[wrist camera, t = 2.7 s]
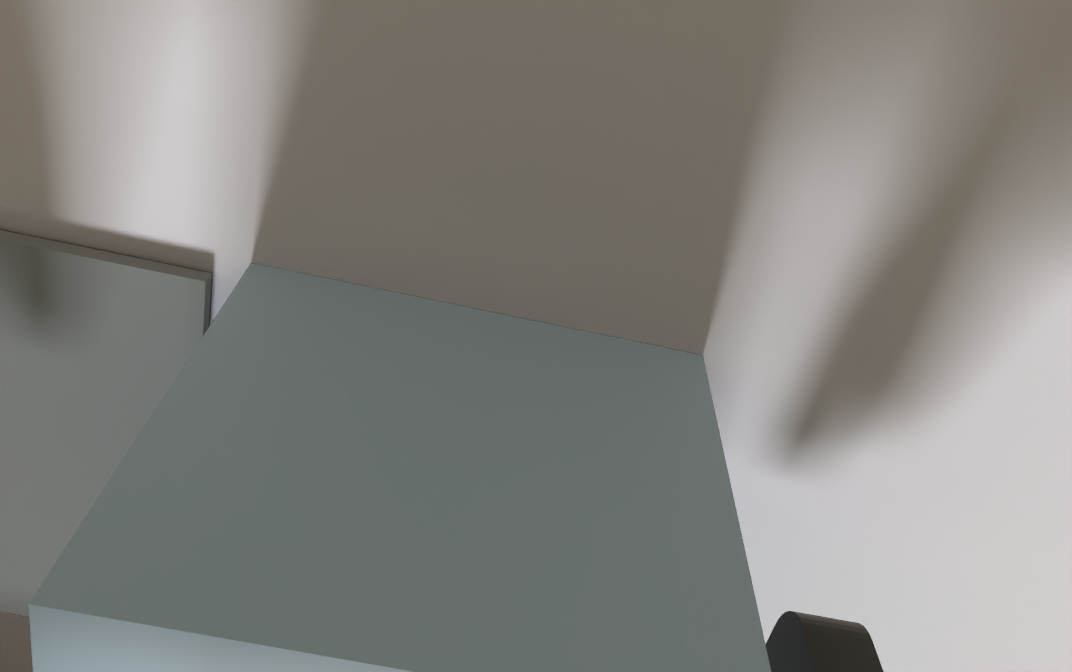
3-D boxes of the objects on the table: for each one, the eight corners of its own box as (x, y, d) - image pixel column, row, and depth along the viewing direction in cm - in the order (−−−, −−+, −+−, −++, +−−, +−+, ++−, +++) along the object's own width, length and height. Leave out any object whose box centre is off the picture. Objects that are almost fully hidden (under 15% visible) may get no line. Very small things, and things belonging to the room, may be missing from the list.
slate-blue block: (702, 351, 11) (786, 736, 7) (593, 655, 13) (602, 1078, 9) (253, 259, 10) (27, 605, 6) (227, 590, 13) (54, 1000, 9)
